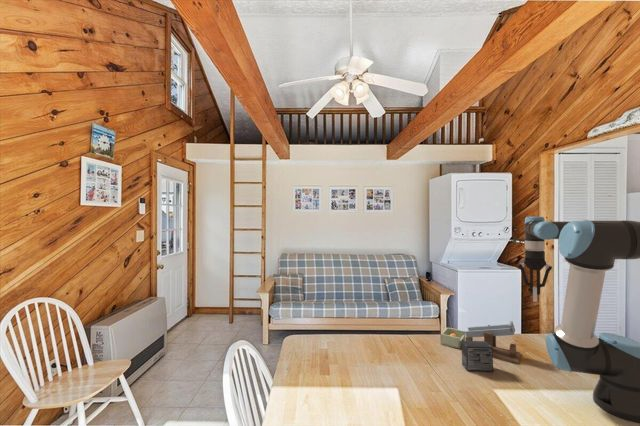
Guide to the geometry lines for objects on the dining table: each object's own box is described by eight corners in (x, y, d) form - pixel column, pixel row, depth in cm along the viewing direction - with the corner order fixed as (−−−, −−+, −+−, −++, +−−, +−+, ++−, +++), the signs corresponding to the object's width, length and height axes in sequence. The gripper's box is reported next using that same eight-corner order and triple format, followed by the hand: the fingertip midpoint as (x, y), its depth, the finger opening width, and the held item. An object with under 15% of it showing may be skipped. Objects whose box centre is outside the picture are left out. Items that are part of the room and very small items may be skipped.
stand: (518, 363, 131) (518, 339, 131) (461, 349, 145) (460, 327, 145) (520, 354, 140) (520, 331, 140) (466, 341, 154) (466, 320, 154)
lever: (513, 335, 133) (510, 325, 134) (465, 338, 145) (462, 329, 146) (516, 326, 144) (513, 316, 145) (471, 329, 156) (469, 320, 157)
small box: (486, 364, 131) (486, 340, 131) (493, 372, 124) (493, 347, 124) (461, 363, 132) (461, 339, 132) (466, 371, 125) (466, 346, 125)
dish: (460, 349, 145) (459, 338, 145) (440, 344, 151) (440, 333, 151) (465, 341, 154) (465, 331, 154) (446, 337, 160) (446, 327, 160)
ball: (458, 341, 149) (453, 333, 151) (451, 344, 151) (446, 337, 153) (460, 338, 152) (455, 330, 154) (454, 341, 154) (448, 334, 156)
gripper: (552, 250, 139) (552, 301, 139) (518, 248, 147) (519, 296, 147) (552, 251, 133) (552, 305, 133) (517, 249, 141) (517, 300, 141)
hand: (535, 301), depth 140 cm, fingers closed
